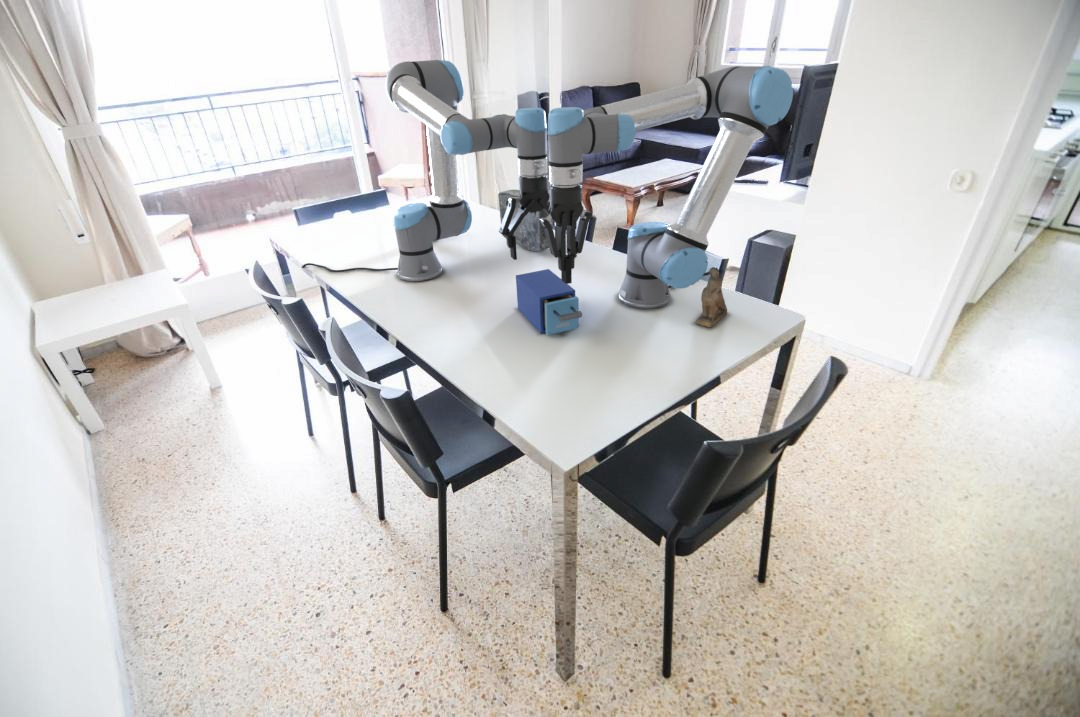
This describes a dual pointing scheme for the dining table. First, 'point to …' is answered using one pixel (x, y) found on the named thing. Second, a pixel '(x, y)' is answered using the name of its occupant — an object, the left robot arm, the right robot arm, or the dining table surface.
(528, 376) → the dining table surface
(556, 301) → the drawer
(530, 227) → the concrete block
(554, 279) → the cabinet
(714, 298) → the worn brown figurine
